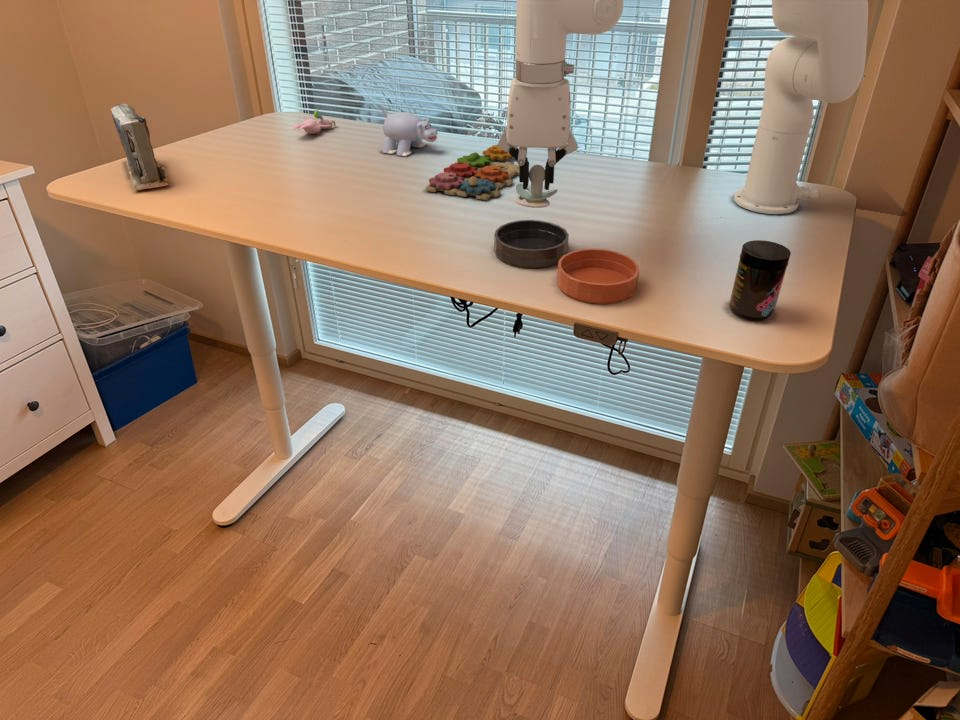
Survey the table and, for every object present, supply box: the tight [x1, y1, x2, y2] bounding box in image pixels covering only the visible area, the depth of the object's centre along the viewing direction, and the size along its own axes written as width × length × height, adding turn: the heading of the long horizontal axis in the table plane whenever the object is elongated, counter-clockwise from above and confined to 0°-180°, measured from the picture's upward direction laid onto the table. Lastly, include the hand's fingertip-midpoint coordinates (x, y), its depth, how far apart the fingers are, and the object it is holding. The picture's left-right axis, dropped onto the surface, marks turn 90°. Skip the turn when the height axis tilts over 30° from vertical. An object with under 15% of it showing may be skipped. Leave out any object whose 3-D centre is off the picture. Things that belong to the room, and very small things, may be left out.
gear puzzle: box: [425, 143, 520, 201], centre depth 156 cm, size 31×16×4 cm, turn 157°
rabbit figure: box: [292, 109, 337, 135], centre depth 182 cm, size 6×6×15 cm
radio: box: [110, 103, 169, 191], centre depth 153 cm, size 23×9×15 cm, turn 23°
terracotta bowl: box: [556, 248, 641, 305], centre depth 113 cm, size 13×13×4 cm
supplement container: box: [728, 239, 792, 322], centre depth 104 cm, size 7×7×10 cm
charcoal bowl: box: [493, 219, 570, 269], centre depth 123 cm, size 13×13×4 cm
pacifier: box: [513, 164, 558, 209], centre depth 117 cm, size 7×6×6 cm
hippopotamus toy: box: [379, 107, 439, 157], centre depth 170 cm, size 11×15×10 cm
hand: (536, 185), depth 117 cm, fingers closed on pacifier, 3 cm apart
